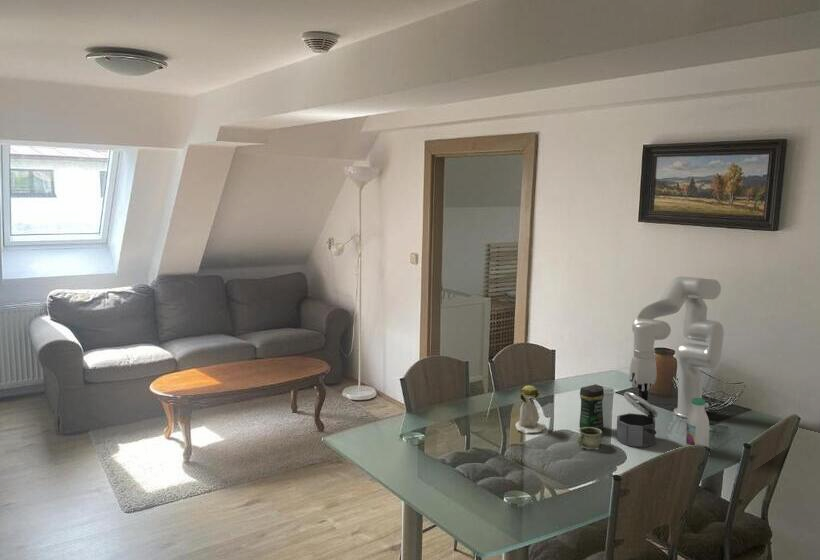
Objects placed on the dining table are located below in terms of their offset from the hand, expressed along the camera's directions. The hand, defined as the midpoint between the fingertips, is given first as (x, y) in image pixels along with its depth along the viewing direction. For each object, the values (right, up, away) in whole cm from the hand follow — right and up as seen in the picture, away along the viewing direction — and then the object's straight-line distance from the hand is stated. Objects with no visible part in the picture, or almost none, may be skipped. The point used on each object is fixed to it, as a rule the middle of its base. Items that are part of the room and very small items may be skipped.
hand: (643, 399), depth 246 cm
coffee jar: (-16, -15, +15) cm, 26 cm away
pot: (-3, -16, +1) cm, 16 cm away
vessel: (-22, -18, -3) cm, 28 cm away
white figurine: (-41, -16, +17) cm, 47 cm away
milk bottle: (+16, -17, -11) cm, 26 cm away
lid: (-1, -2, 0) cm, 3 cm away
